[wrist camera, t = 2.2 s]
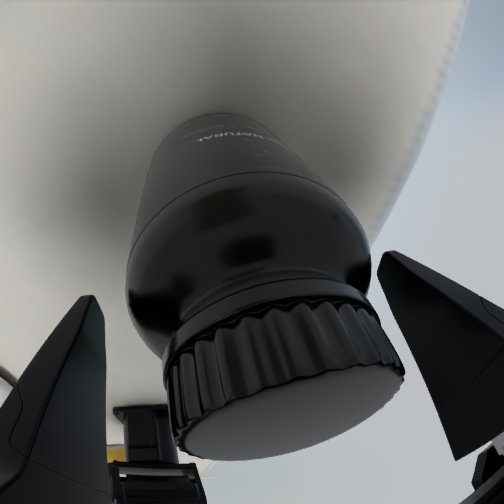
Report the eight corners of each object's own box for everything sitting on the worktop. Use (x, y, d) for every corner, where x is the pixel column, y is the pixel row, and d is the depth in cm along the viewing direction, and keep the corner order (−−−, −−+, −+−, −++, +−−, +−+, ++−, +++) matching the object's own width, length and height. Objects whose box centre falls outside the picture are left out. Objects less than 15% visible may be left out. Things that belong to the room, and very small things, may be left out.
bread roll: (110, 439, 32) (111, 464, 29) (162, 449, 37) (165, 472, 34) (92, 449, 35) (93, 471, 32) (139, 459, 40) (141, 478, 37)
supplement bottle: (247, 84, 12) (482, 214, 2) (302, 196, 16) (437, 389, 7) (119, 161, 13) (39, 426, 3) (194, 256, 17) (235, 479, 7)
